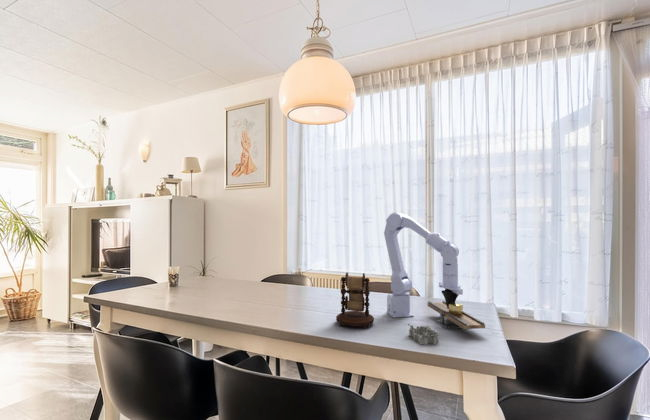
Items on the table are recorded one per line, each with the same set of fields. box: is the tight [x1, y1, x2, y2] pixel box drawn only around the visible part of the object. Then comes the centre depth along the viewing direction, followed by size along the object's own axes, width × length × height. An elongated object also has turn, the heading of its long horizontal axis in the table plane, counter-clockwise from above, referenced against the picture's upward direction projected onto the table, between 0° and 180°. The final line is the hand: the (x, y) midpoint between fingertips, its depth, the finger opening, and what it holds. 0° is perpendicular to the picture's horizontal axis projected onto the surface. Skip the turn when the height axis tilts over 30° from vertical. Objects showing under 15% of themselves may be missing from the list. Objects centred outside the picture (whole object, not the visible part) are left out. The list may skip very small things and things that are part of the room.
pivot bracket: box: [434, 313, 462, 330], centre depth 126 cm, size 11×8×4 cm
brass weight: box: [449, 302, 464, 316], centre depth 125 cm, size 5×5×4 cm
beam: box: [427, 300, 486, 330], centre depth 126 cm, size 8×28×2 cm, turn 8°
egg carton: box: [407, 323, 440, 345], centre depth 111 cm, size 11×8×4 cm
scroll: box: [335, 271, 375, 329], centre depth 127 cm, size 15×15×20 cm
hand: (450, 308), depth 128 cm, fingers closed
